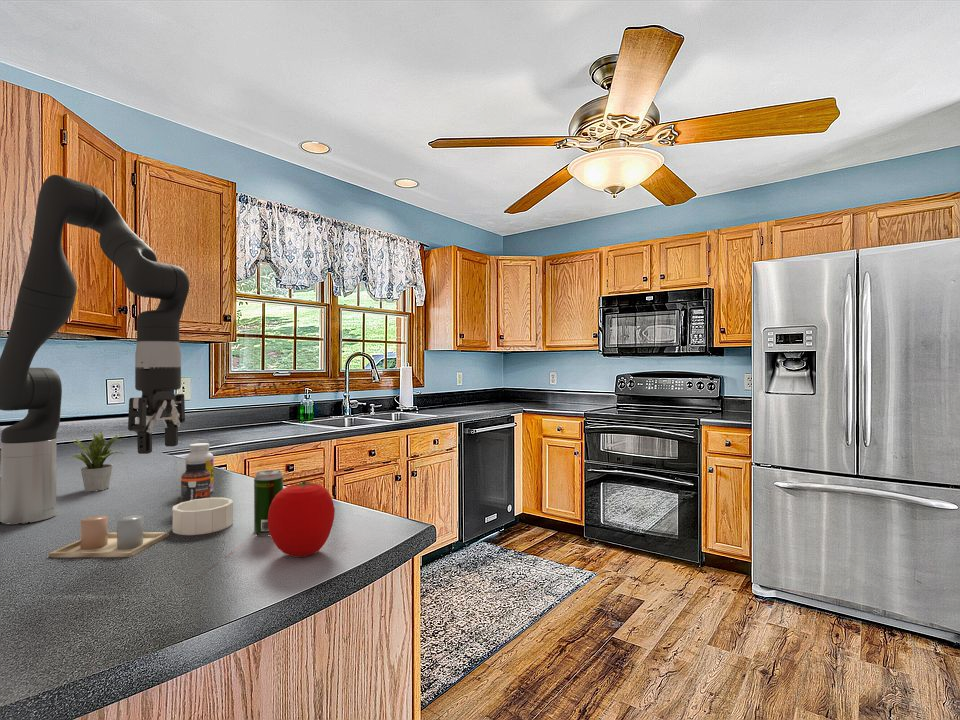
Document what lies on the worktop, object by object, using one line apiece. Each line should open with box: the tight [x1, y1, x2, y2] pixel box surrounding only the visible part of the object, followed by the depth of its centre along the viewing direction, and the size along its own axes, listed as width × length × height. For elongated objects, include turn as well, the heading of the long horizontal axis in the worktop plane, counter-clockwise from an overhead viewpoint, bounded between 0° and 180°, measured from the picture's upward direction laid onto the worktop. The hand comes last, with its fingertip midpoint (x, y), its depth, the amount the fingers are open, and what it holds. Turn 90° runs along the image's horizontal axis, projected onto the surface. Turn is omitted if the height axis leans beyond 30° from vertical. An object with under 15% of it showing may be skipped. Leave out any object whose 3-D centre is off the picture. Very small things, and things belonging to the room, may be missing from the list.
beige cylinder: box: [80, 515, 109, 550], centre depth 94 cm, size 4×4×5 cm
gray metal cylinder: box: [116, 514, 144, 550], centre depth 94 cm, size 4×4×5 cm
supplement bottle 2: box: [180, 461, 211, 503], centre depth 118 cm, size 6×6×11 cm
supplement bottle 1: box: [184, 442, 215, 493], centre depth 137 cm, size 7×7×13 cm
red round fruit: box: [268, 480, 336, 558], centre depth 91 cm, size 11×11×13 cm
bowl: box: [172, 497, 234, 536], centre depth 106 cm, size 11×11×5 cm
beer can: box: [253, 469, 284, 537], centre depth 103 cm, size 5×5×12 cm
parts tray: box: [48, 531, 170, 559], centre depth 94 cm, size 14×11×1 cm
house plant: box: [71, 430, 130, 492], centre depth 141 cm, size 14×14×16 cm
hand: (158, 449), depth 99 cm, fingers open, 8 cm apart
